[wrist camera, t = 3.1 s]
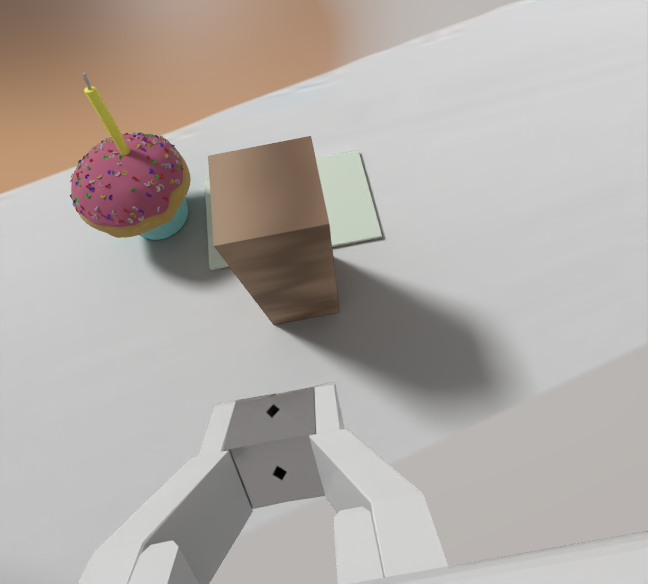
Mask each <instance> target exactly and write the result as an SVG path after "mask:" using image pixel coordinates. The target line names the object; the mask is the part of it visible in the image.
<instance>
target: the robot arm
mask: <svg viewBox="0 0 648 584" xmlns="http://www.w3.org/2000/svg"><path fill="white" fill-rule="evenodd" d="M320 496H325V497H326V499H327V500H328V501H329V503H330V504H331V506H332V507H333V509H334V510H335V511H336V512H337V515H336V516H335V518H334V533H335V547H336V562H337V578H338V584H648V531H646V532H639V533H633V534H628V535H622V536H617V537H611V538H606V539H600V540H594V541H588V542H583V543H577V544H571V545H566V546H560V547H554V548H548V549H543V550H538V551H531V552H526V553H520V554H514V555H509V556H503V557H497V558H492V559H486V560H480V561H475V562H469V563H463V564H458V565H452V566H448V564H447V561H446V559H445V556H444V553H443V550H442V547H441V544H440V541H439V538H438V535H437V533H436V530H435V527H434V524H433V521H432V518H431V515H430V512H429V510H428V507H427V504H426V501H425V498H424V495H423V494H422V493H421V492H420V491H419V490H418V489H417V488H416V487H414V486H413V485H412V484H411V483H410V482H409V481H407V480H406V479H405V478H404V477H403V476H402V475H401V474H399V473H398V472H397V471H396V470H395V469H394V468H392V467H391V466H390V465H389V464H388V463H387V462H386V461H384V460H383V459H382V458H381V457H380V456H379V455H377V454H376V453H375V452H374V451H373V450H372V449H371V448H369V447H368V446H367V445H366V444H365V443H364V442H362V441H361V440H360V439H359V438H358V437H357V436H356V435H354V434H353V433H352V432H351V431H350V430H349V429H344V424H343V418H342V414H341V409H340V404H339V399H338V394H337V389H336V385H335V383H334V382H330V383H326V384H321V385H316V386H315V387H310V388H305V389H300V390H294V391H289V392H284V393H279V394H271V395H265V396H259V397H253V398H247V399H241V400H238V401H230V402H224V403H219V404H218V405H216V406H215V408H214V411H213V414H212V417H211V419H210V422H209V425H208V428H207V431H206V434H205V437H204V440H203V443H202V446H201V449H200V451H199V454H198V456H195V457H191V458H190V459H189V460H188V461H187V462H186V463H185V464H184V465H183V466H182V467H181V468H180V469H179V470H178V471H177V472H176V473H175V474H174V475H173V476H172V477H171V478H170V479H169V480H168V481H167V482H166V483H165V484H164V485H163V486H162V487H161V488H160V489H159V490H158V491H157V492H155V493H154V494H153V495H152V496H151V497H150V498H149V499H148V500H147V501H146V502H145V503H144V504H143V505H142V506H141V507H140V508H139V509H138V510H137V511H136V512H135V513H134V514H133V515H132V516H131V517H130V518H129V519H128V520H127V521H126V522H125V523H124V524H123V525H122V526H121V527H120V528H118V529H117V530H116V531H115V532H114V533H113V534H112V535H111V536H110V537H109V538H108V539H107V540H106V541H105V542H104V543H103V544H102V545H101V546H100V547H99V548H98V549H97V550H96V551H95V552H94V553H93V555H92V557H91V559H90V561H89V563H88V565H87V567H86V569H85V570H84V572H83V574H82V576H81V578H80V580H79V582H78V584H209V583H210V581H211V579H212V578H213V576H214V575H215V573H216V571H217V570H218V568H219V566H220V565H221V563H222V561H223V560H224V558H225V556H226V555H227V553H228V551H229V550H230V548H231V547H232V545H233V543H234V542H235V540H236V538H237V537H238V535H239V533H240V532H241V530H242V528H243V527H244V525H245V523H246V522H247V520H248V518H249V517H250V515H251V513H252V512H253V511H252V509H255V508H259V507H264V506H269V505H273V504H278V503H283V502H288V501H294V500H301V499H307V498H314V497H320Z"/></svg>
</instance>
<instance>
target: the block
mask: <svg viewBox="0 0 648 584" xmlns="http://www.w3.org/2000/svg"><path fill="white" fill-rule="evenodd" d="M208 161H209V178H210V194H211V211H212V228H213V244H214V247H215V249H216V250H217V251H218V252H219V254H220V255H221V256H222V258H223V259H224V260H225V262H226V263H227V264H228V266H229V267H230V268H231V270H232V271H233V272H234V274H235V275H236V276H237V277H238V279H239V280H240V281H241V283H242V284H243V285H244V287H245V288H246V289H247V291H248V292H249V293H250V295H251V296H252V297H253V299H254V300H255V301H256V302H257V304H258V305H259V306H260V308H261V309H262V310H263V312H264V313H265V314H266V316H267V317H268V318H269V320H270V321H271V322H272V324H273V325H275V324H281V323H286V322H291V321H296V320H302V319H307V318H312V317H317V316H323V315H328V314H333V313H338V312H339V304H338V295H337V287H336V278H335V269H334V260H333V251H332V242H331V233H330V224H329V219H328V215H327V210H326V205H325V200H324V196H323V191H322V186H321V182H320V177H319V172H318V167H317V163H316V158H315V153H314V148H313V144H312V139H311V136H308V137H303V138H298V139H293V140H288V141H283V142H278V143H272V144H267V145H262V146H257V147H252V148H247V149H241V150H236V151H231V152H226V153H221V154H216V155H211V156H208Z"/></svg>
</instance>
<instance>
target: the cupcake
mask: <svg viewBox="0 0 648 584" xmlns="http://www.w3.org/2000/svg"><path fill="white" fill-rule="evenodd" d="M83 79H84V81H85V83H86V85H87V87H86V88H85V90H84V91H85V93H86V95H87V97H88V98H89V100H90V102H91V103H92V105H93V107H94V109H95V110H96V112H97V114H98V115H99V117H100V119H101V120H102V122H103V124H104V126H105V127H106V129H107V131H108V133H109V134H110V136H111V138H105V139H107V140H105V141H101V143H99V144H98V145H96V146H95V147H93V148H92V149H91V150H90V151H89V153H88V154H87V155H86V156H84V157H83V159H82V160H79V161H78V165H77V168H76V170H75V172H74V174H72V176H71V178H72V179H71V181H72V187H71V192H72V195H70V197H71V199H72V200H73V206H74V207H76V208H75V209H76V211H77V212H78V213H79V215H80V216H81V218H82V219H83V220H84V221H85V222H86V223H87V224H89V225H90V226H92V227H93V228H95V229H98V230H100V231H103V232H106V233H108V234H110V235H112V236H114V237H119V238H121V237H132V236H136V235H140V236H142V237H144V238H147V239H152V240H159V239H164V238H167V237H170V236H172V235H173V234H175V233H176V232H178V231H179V230H180V229H181V228H182V226H183V225H184V224H185V222H186V220H187V217H188V206H187V202H186V198H185V196H186V194H187V192H188V189H189V186H190V173H189V170H188V168H187V165H186V163H185V161H184V159H183V158H182V156H181V155H180V153H179V152H178V151H177V150H176V148H175V147H174V146H175V145H172V144H170V143H169V141H168V140H166V139H164V138H163V137H162V136H160V138H159V137H158V136H156V135H155V136H153V135H152V134H147V135H146V134H143V133H141V132H140V133H136V132H135V133H133V134H128V133H126V134H124V135H123V134H121V133H120V131H119V129H118V127H117V126H116V124H115V122H114V120H113V118H112V116H111V115H110V113H109V111H108V109H107V107H106V106H105V104H104V102H103V100H102V98H101V97H100V95H99V93H98V91H97V89H96V88H95V87H93V86H91V85H90V82H89V80H88V79H87V76H86V74H85V73H83ZM161 137H162V139H161ZM71 181H70V182H71Z"/></svg>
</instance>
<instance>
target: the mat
mask: <svg viewBox="0 0 648 584" xmlns="http://www.w3.org/2000/svg"><path fill="white" fill-rule="evenodd" d="M316 163H317V167H318V172H319V177H320V182H321V186H322V191H323V196H324V200H325V205H326V210H327V215H328V219H329V224H330V233H331V242H332V247H336V246H341V245H346V244H351V243H357V242H362V241H367V240H372V239H378V238H382V234H381V231H380V227H379V223H378V220H377V216H376V213H375V209H374V205H373V202H372V198H371V194H370V191H369V187H368V183H367V180H366V176H365V173H364V169H363V165H362V162H361V158H360V154H359V151H358V150H356V151H350V152H345V153H340V154H335V155H330V156H325V157H319V158H316ZM204 181H205V200H206V218H207V237H208V256H209V269H210V270H216V269H221V268H226V267H229V266H228V264H227V263H226V262H225V260H224V259H223V258H222V256H221V255H220V254H219V252H218V251H217V250H216V249H215V247H214V244H213V228H212V211H211V194H210V179H205V180H204Z"/></svg>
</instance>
